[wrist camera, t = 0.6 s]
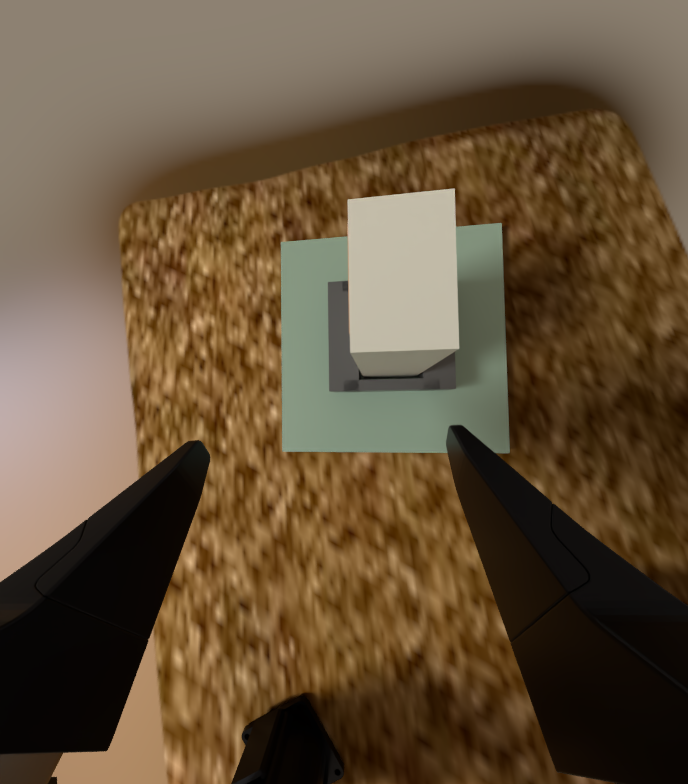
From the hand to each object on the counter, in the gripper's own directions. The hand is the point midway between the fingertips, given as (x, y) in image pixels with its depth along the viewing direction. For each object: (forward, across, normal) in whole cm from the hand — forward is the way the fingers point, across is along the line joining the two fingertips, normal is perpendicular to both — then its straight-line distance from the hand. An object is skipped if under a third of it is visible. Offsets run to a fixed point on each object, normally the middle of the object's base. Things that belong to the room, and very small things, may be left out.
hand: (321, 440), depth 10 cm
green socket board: (+14, -4, +4) cm, 15 cm away
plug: (+14, -4, +3) cm, 14 cm away
